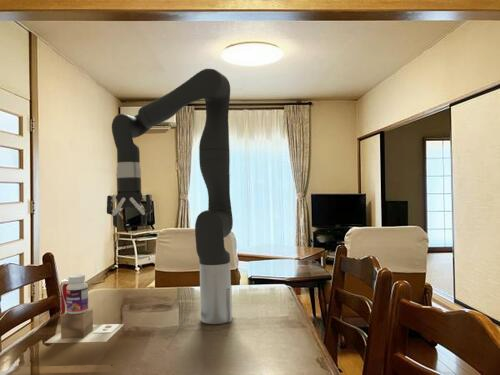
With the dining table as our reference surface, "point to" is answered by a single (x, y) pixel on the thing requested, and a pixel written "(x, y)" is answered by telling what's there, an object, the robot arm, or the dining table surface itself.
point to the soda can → (63, 296)
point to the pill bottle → (77, 295)
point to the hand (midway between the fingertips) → (130, 226)
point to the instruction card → (106, 328)
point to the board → (89, 338)
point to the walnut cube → (76, 324)
